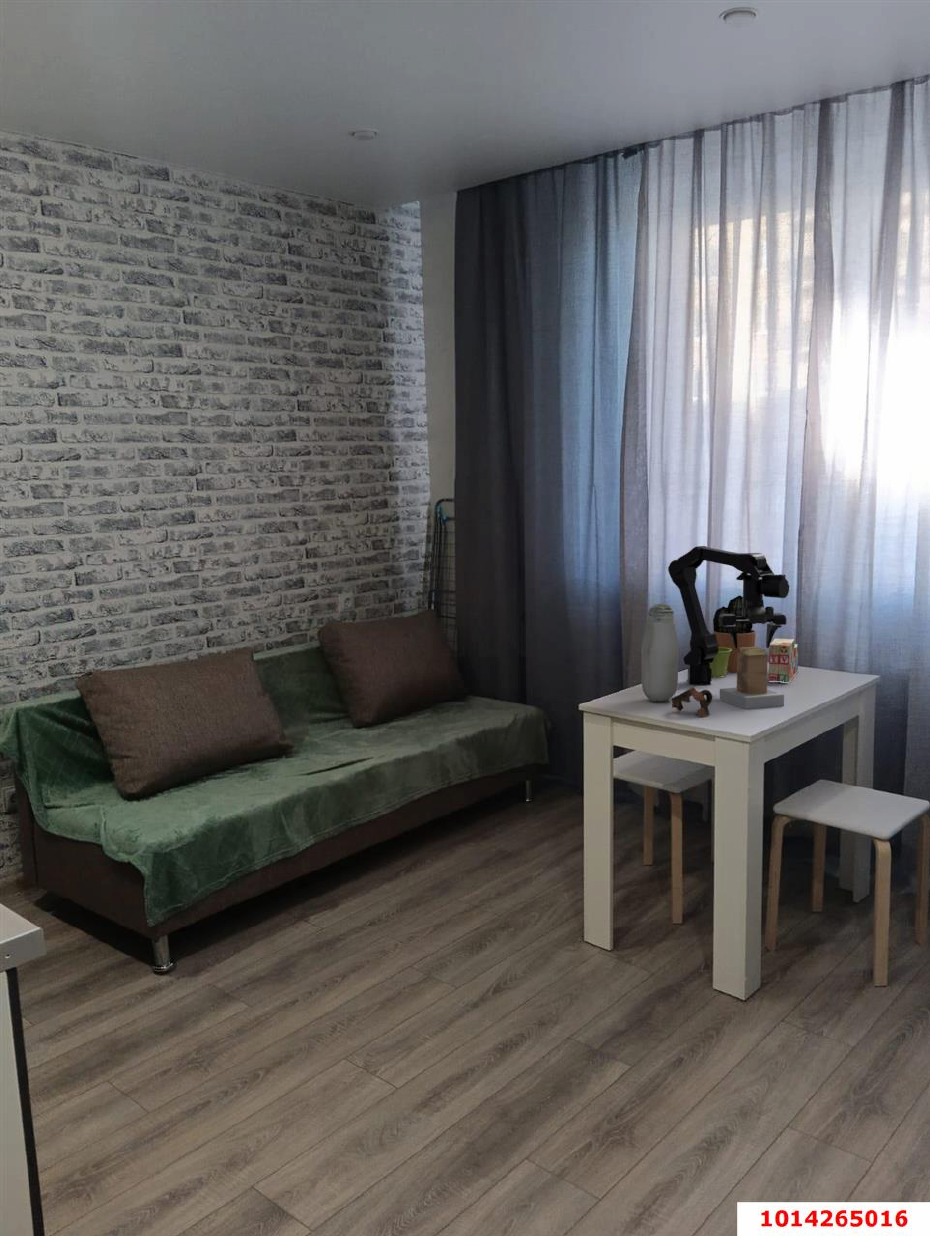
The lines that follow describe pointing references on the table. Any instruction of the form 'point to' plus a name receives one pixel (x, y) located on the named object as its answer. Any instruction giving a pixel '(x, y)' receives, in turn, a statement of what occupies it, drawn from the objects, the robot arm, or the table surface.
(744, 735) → the table surface
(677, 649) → the glass bottle
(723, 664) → the plant pot
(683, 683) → the table surface
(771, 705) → the dock
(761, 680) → the brown rectangular block
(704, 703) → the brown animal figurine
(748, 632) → the potted plant
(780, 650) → the stack of blocks
